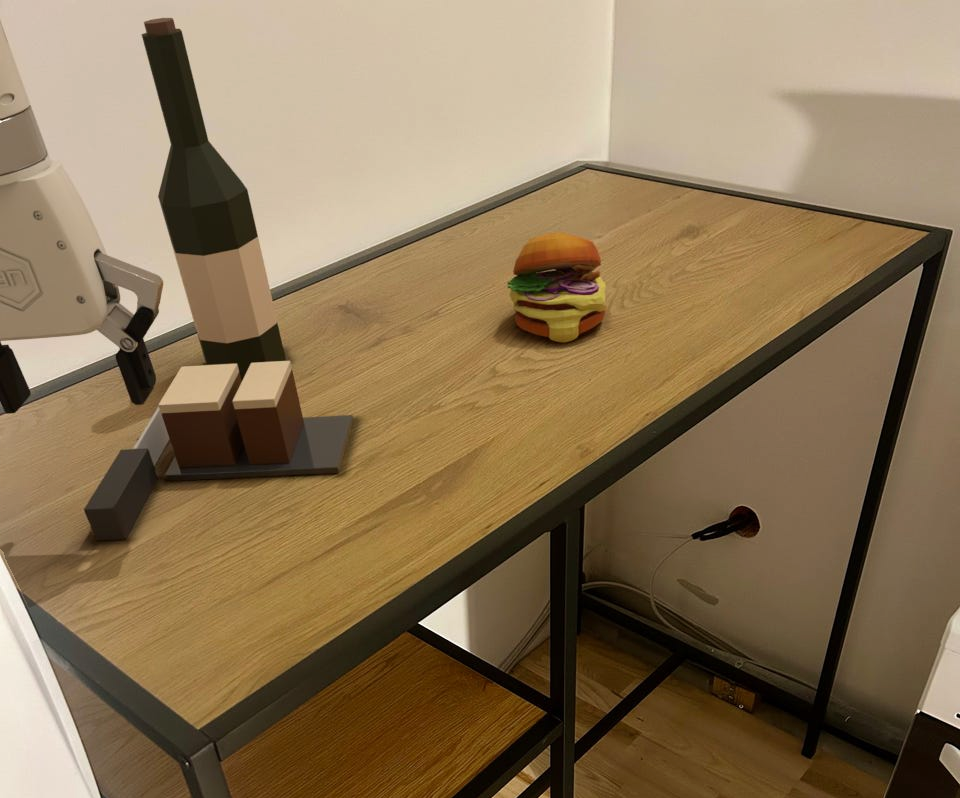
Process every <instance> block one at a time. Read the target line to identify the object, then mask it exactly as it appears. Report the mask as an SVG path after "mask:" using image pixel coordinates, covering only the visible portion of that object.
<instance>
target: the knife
mask: <svg viewBox="0 0 960 798" xmlns="http://www.w3.org/2000/svg"><path fill="white" fill-rule="evenodd" d="M168 442H170V439H169V436H168V433H167V430H166V427H165V424H164V421H163V418H162V413H161V412H160V409H159V406H157V408H156V410H155V411H154V413H153V415H152V416H151V418H150V419H149V421H148V423H147V424H146V426H145V428H144V429H143V431H142V433H141V434H140V436H139V438H138V439H137V441H136V443H135V445H134V446H133V447H132V448H128V449H127V448H126V449H120V450H119V452H118V453H117V455H116V457H115V458H114V460H113V462H112V463H111V465H110V467H109V468H108V470H107V471H106V473H105V475H104V476H103V478H102V479H101V481H100V483H99V484H98V486H97V488H95V491H94V492H93V494H92V495H91V497H90V499H89V500H88V502H87V504H86V505H85V506H84V508H83V512H84V514H85V516H86V518H87V521H88V523H89V526H90V528H91V531H92V533H93V535H94V537H95V539H96V541H100V542H101V541H121V540H122V541H124V540H126V539H127V538H128V536H129V534H130V532H131V530H132V528H133V526H134V525H135V523H136V521H137V520H138V518H139V515H140V514H141V512H142V510H143V508H144V506H145V505H146V503H147V501H148V499H149V497H150V496H151V493H152V492H153V489H154V488H155V486H156V484H157V482H158V480H159V476H158V473H157V470H156V468H155V466H156V464H157V462H158V460H159V458H160V457H161V455H162V453H163V452H164V450H165V448H166V446H167V444H168Z"/></svg>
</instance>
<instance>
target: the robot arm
mask: <svg viewBox="0 0 960 798" xmlns="http://www.w3.org/2000/svg"><path fill="white" fill-rule="evenodd" d="M35 115H36V114H35V113H34V110H33V107H32V105H31V102H30V99H29V96H28V93H27V90H26V88H25V85H24V82H23V80H22V77H21V74H20V71H19V68H18V66H17V63H16V60H15V58H14V54H13V52H12V49H11V45H10V43H9V40H8V39H7V36H6V32H5V30H4V27H3V24H2V21H1V20H0V404H1V406H2V407H1V408H2V409H3V411H4V413H5V414H8V415H10V414H16V412H18V411H19V410H20V408H21V407H22V406H23V405H24V404H25V402H26V401H28V399H29V398H30V396H31V395H32V393H31V389H30V387H29V385H28V383H27V380H26V378H25V375H24V373H23V371H22V369H21V366H20V365H19V362H18V360H17V357H16V356H15V353H14V350H13V348H11V347H10V345H9V344H2V342H7V341H8V342H9V341H20V340H21V341H23V340H35V339H48V338H61V337H74V336H82V335H87V334H89V333H91V334H92V333H93V332H95V331H98V332H99V333H100V334H101V335H103V336H104V337H105V338H107V340H109V341H110V342H111V343H113V344H114V345H116V346H117V347H118V349H119V350H118V351H117V352H116V354H115V361H116V364H117V366H118V368H119V371H120V375H121V377H122V379H123V382H124V386H125V388H126V390H127V393H128V396H129V399H130V401H131V403H132V404H134V405H135V406H140V405H144V404H145V403H146V401H147V400H148V398H149V396H150V395H151V393H152V391H153V390H154V388H155V385H156V383H157V375H156V371H155V369H154V365H153V363H152V360H151V357H150V355H149V351H148V348H147V345H146V342H145V339H144V338H145V336H146V335H147V333H148V331H149V330H150V328H151V326H152V325H153V323H155V320H156V318H157V317H158V316H159V313H160V309H159V308H160V304H161V299H162V293H163V288H164V280H163V277H161V276H160V275H158V274H156V273H153V272H151V271H149V270H146V269H144V268H141V267H138V266H135V265H134V264H130V263H128V262H126V261H123V260H120V259H119V258H116V257H114V256H110V255H108V254H107V251H106V249H105V247H104V244H103V242H102V240H101V237H100V234H99V232H98V230H97V228H96V226H95V223H94V221H93V218H92V217H91V215H90V213H89V211H88V208H87V206H86V205H85V203H84V201H83V199H82V197H81V195H80V193H79V191H78V189H77V188H76V186H75V184H74V182H73V180H72V179H71V177H70V175H69V173H68V172H67V170H66V169H65V167H64V165H63V164H62V162H61V160H59V159H51V157H50V155H49V152H48V149H47V146H46V144H45V140H44V138H43V134H42V132H41V130H40V126H39V124H38V120H37V119H36V116H35ZM119 287H120V288H123V289H125V290H128V291H130V292H133V293H134V294H135V296H136V297H137V303H136V304H137V305H136V311H135V313H133V312H132V311H131V310H129V309H128V308H126V307H125V305H123V304H122V303H120V302H121V293H120V288H119Z"/></svg>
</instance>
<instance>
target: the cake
mask: <svg viewBox="0 0 960 798" xmlns="http://www.w3.org/2000/svg"><path fill="white" fill-rule="evenodd" d="M241 382H242V381H241V377H240V373H239V369H238V365H237V364H220V365H206V364H205V365H203V364H202V365H188V366H187V365H186V366H184V365H183V366H180V368H179V370H178V372H177V374H175V376H174V379H173V380H172V382H171V383H170V384H169V386H168V388H167V390H166V391H165V393H164V395H163V396H162V398H161V400H160V401H159V403H158V405H157V407H159V409H160V412H161V413H162V418H163V421H164V424H165V427H166V430H167V433H168V436H169V442H170V445H171V448H172V450H173V453H174V457H176V460H177V463H178V466H179V468H191V467H212V466H233V465H236V463H237V461H238V458H239V456H240V454H241V451H242V449H243V447H244V442H243V439H242V435H241V431H240V428H239V424H238V420H237V417H236V413H235V409H234V405H233V402H232V401H233V399H234V397H235V395H236V393H237V391H238V389H239V387H240V385H241Z"/></svg>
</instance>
